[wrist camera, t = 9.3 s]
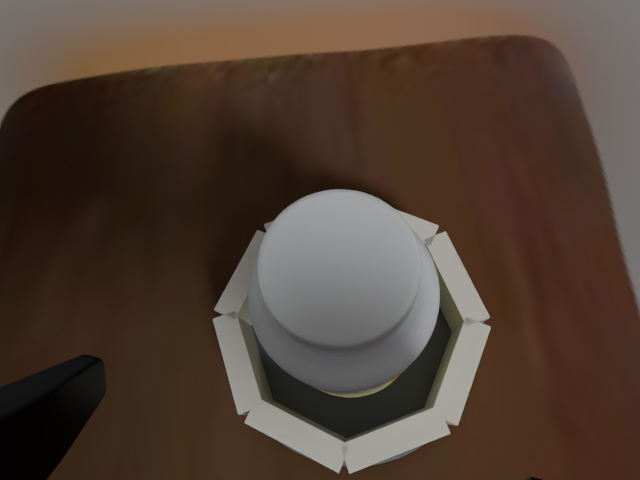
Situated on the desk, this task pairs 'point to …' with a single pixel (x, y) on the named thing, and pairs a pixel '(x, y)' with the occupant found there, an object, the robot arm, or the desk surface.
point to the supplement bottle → (343, 293)
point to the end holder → (368, 411)
